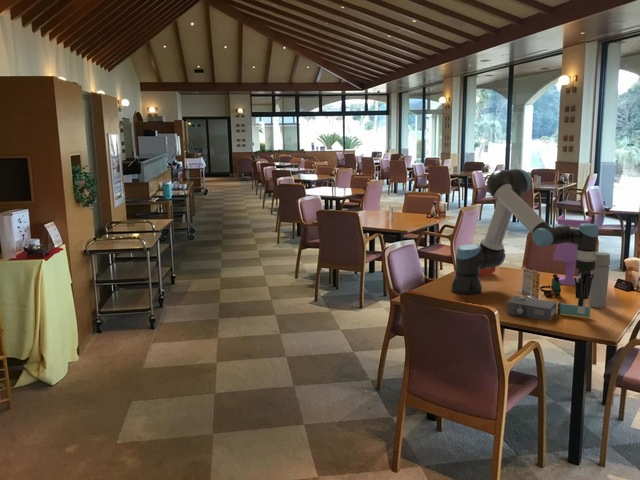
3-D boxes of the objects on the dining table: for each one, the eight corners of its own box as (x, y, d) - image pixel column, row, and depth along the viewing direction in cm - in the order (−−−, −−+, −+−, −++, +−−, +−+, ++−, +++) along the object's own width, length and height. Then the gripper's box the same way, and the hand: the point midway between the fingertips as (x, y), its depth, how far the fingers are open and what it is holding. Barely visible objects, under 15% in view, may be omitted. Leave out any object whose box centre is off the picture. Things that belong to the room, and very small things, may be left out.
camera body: (505, 315, 250) (506, 301, 249) (515, 307, 261) (515, 294, 260) (548, 322, 240) (549, 308, 238) (556, 314, 251) (557, 300, 250)
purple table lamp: (587, 281, 306) (592, 217, 300) (582, 287, 293) (588, 221, 287) (556, 277, 315) (560, 215, 308) (551, 283, 302) (555, 218, 295)
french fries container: (495, 275, 321) (496, 244, 318) (476, 275, 321) (477, 244, 318) (493, 273, 325) (494, 242, 322) (474, 273, 326) (475, 242, 322)
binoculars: (538, 274, 282) (559, 273, 280) (539, 294, 284) (560, 293, 282) (541, 278, 274) (563, 277, 272) (542, 299, 275) (564, 298, 273)
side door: (589, 318, 244) (590, 306, 243) (557, 314, 250) (557, 302, 249) (589, 317, 246) (590, 305, 245) (557, 313, 252) (558, 301, 251)
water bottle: (605, 309, 256) (610, 256, 252) (586, 307, 260) (591, 254, 256) (607, 304, 264) (612, 252, 259) (589, 302, 268) (593, 250, 263)
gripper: (587, 263, 233) (582, 318, 238) (601, 259, 242) (596, 312, 246) (569, 260, 239) (565, 313, 243) (584, 256, 247) (579, 308, 252)
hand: (581, 313), depth 245 cm, fingers closed
